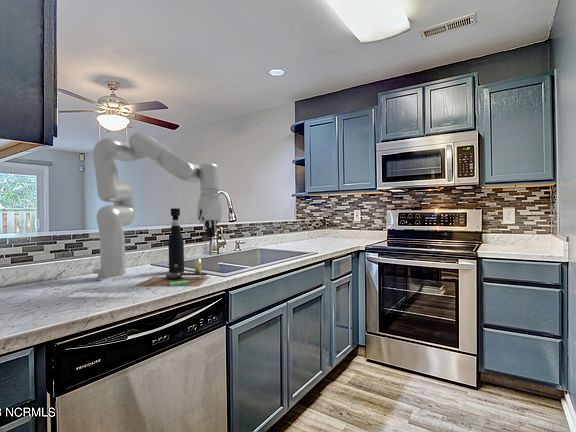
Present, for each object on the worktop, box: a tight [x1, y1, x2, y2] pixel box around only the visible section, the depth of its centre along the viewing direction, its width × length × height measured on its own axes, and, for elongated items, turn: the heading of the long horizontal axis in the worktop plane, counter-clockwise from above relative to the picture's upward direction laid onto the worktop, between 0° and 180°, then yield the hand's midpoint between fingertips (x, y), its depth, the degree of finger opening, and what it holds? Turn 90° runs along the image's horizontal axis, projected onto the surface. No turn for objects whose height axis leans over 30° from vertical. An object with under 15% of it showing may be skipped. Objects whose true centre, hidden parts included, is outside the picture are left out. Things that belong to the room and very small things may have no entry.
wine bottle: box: [168, 207, 185, 273], centre depth 142 cm, size 6×6×30 cm
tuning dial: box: [165, 258, 208, 280], centre depth 129 cm, size 16×6×8 cm, turn 88°
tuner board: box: [135, 275, 211, 287], centre depth 125 cm, size 24×16×2 cm
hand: (210, 236), depth 134 cm, fingers closed
